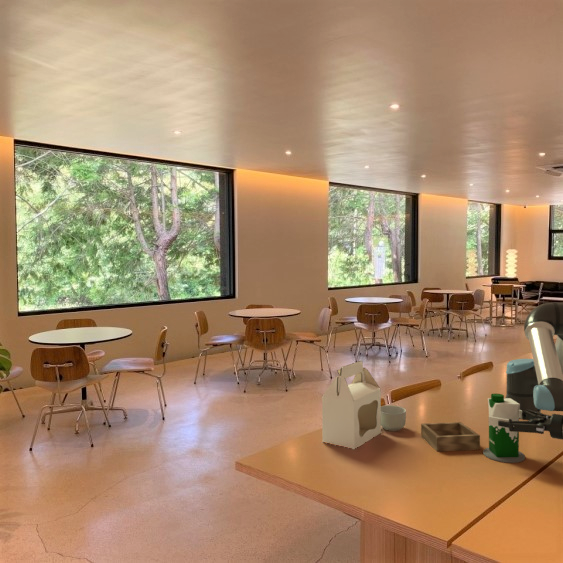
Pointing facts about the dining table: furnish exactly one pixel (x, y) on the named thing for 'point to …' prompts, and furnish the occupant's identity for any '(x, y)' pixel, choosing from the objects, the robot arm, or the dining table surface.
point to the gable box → (351, 408)
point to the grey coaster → (504, 459)
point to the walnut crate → (450, 436)
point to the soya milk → (499, 437)
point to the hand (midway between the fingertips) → (495, 415)
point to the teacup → (393, 417)
